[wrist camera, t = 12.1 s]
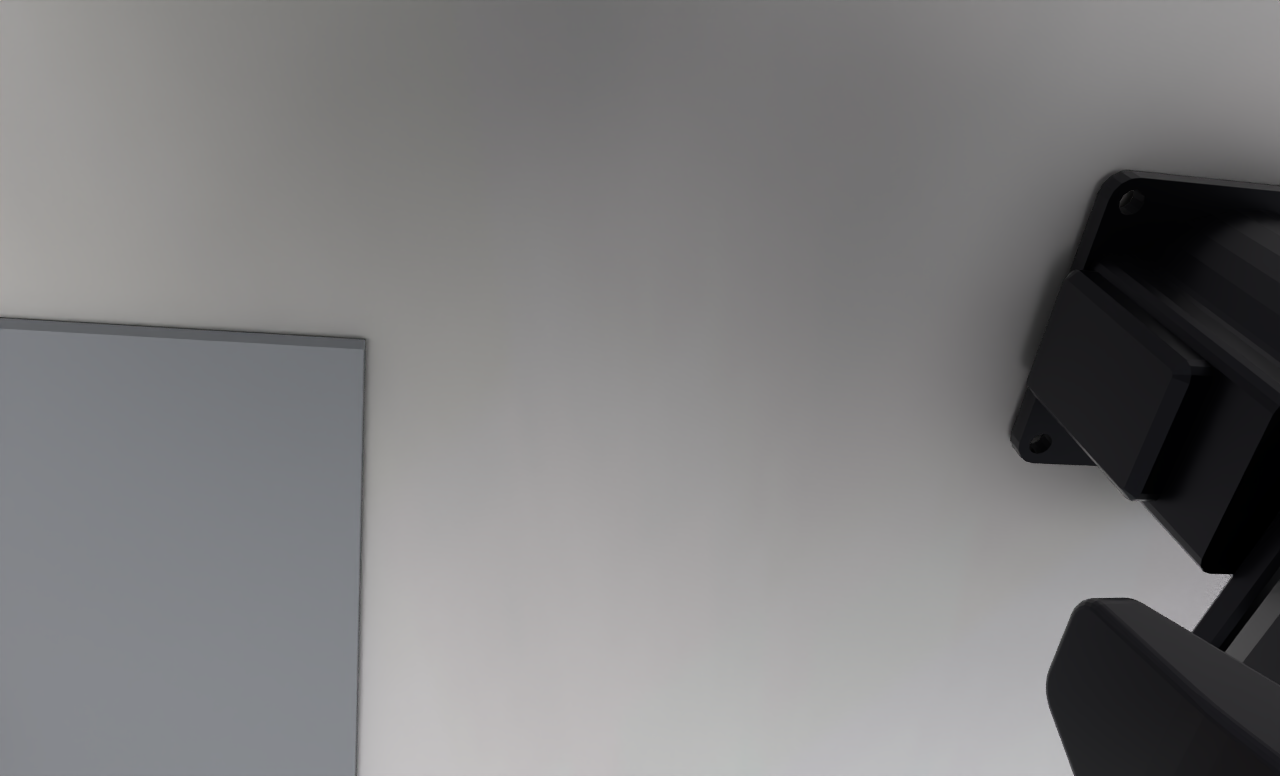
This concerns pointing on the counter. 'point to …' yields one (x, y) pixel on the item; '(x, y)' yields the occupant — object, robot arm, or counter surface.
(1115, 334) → the robot arm
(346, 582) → the mat
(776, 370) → the counter surface
